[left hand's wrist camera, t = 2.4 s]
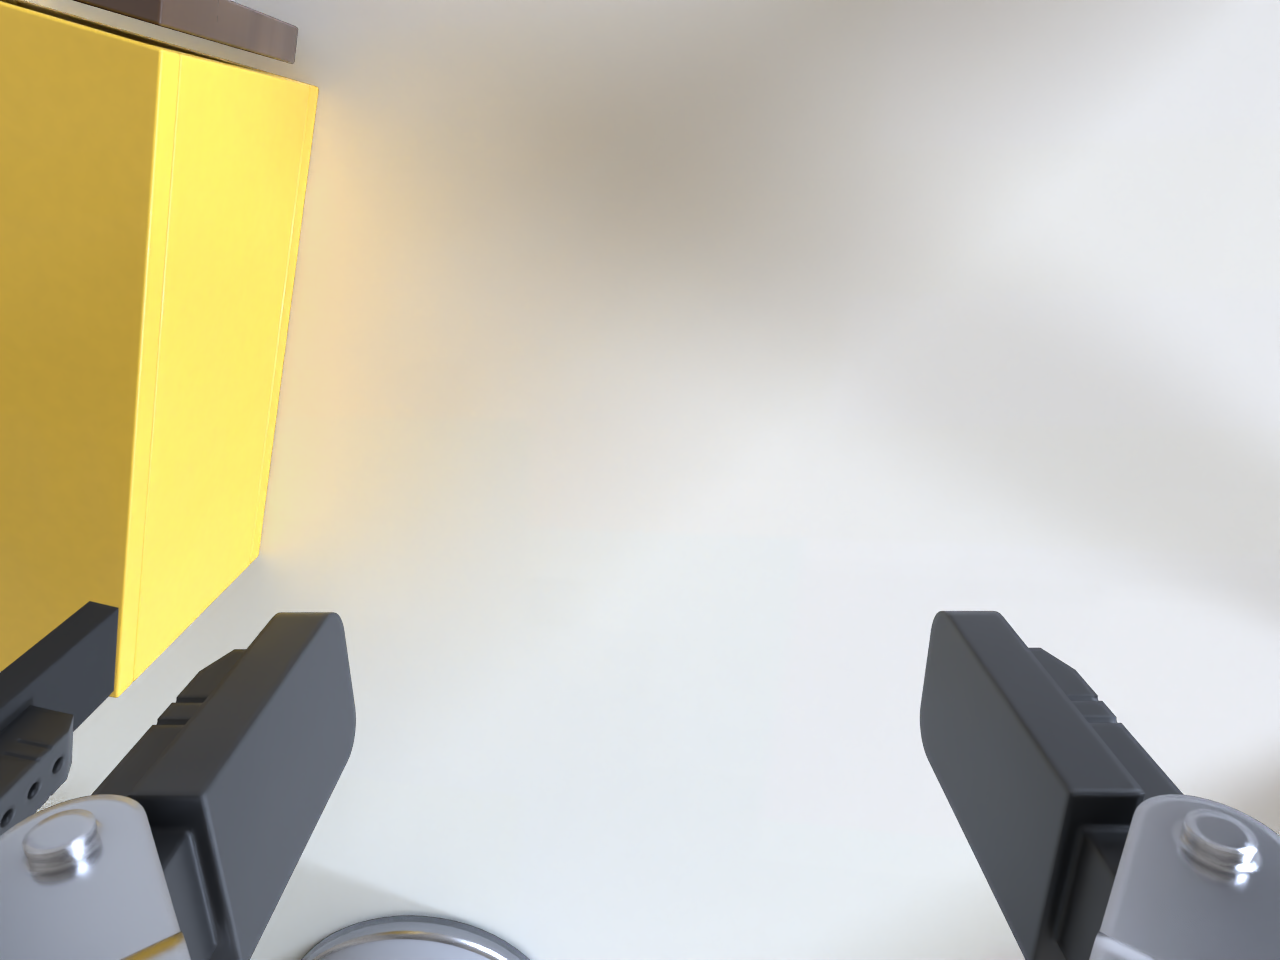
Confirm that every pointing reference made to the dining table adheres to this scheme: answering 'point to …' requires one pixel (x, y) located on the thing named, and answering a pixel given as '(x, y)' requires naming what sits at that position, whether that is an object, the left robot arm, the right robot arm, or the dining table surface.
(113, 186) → the yellow box
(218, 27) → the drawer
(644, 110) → the dining table surface
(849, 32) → the dining table surface
